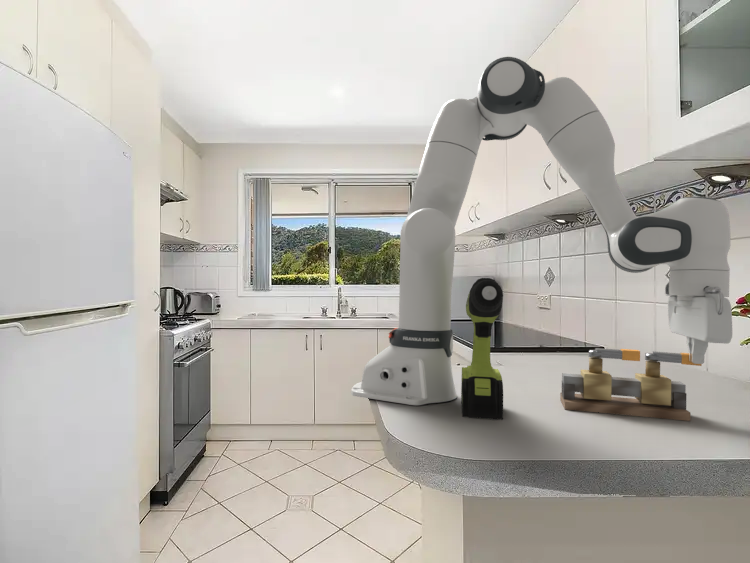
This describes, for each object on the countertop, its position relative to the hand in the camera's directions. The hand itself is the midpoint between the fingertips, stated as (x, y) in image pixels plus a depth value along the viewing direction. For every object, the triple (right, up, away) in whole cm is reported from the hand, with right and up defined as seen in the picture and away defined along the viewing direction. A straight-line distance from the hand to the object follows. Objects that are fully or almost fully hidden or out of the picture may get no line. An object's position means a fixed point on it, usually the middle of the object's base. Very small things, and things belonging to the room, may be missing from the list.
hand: (696, 363), depth 81 cm
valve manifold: (-10, -10, +6) cm, 16 cm away
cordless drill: (-39, -10, -1) cm, 40 cm away
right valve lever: (-2, 0, +3) cm, 4 cm away
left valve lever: (-12, 0, +7) cm, 13 cm away
